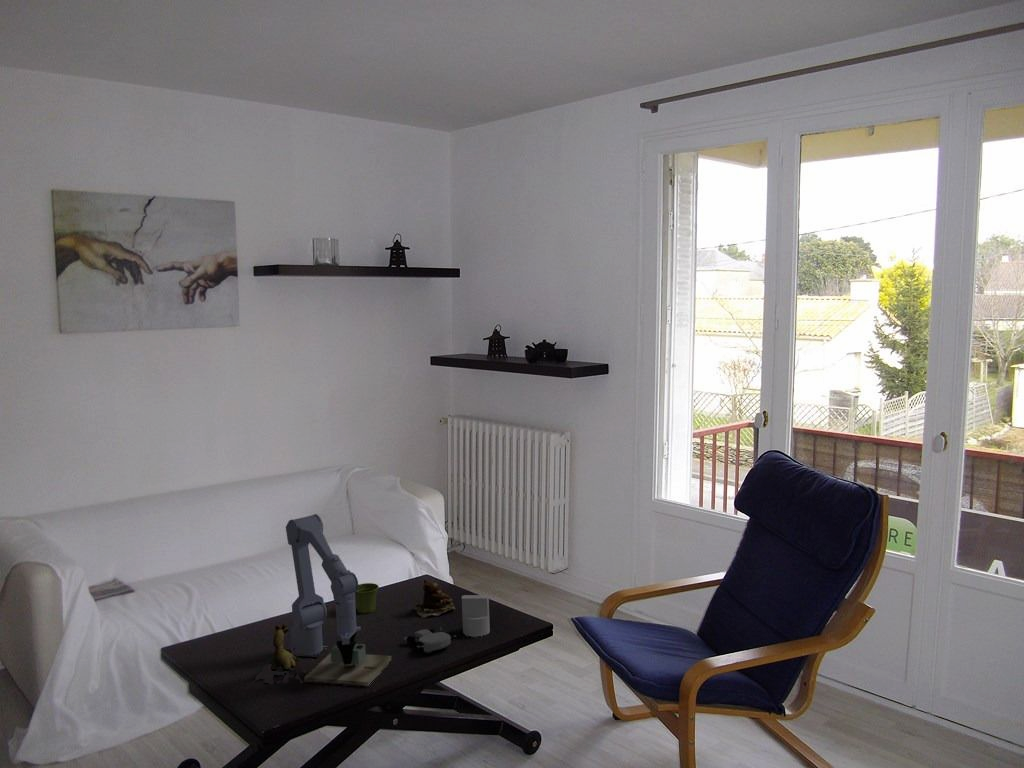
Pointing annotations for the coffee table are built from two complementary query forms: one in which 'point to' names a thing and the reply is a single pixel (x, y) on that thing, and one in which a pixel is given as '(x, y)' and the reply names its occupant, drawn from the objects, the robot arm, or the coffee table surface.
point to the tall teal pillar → (357, 656)
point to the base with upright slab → (475, 615)
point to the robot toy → (430, 640)
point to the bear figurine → (433, 601)
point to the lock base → (349, 670)
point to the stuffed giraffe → (281, 652)
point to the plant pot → (366, 597)
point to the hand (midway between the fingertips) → (348, 658)
